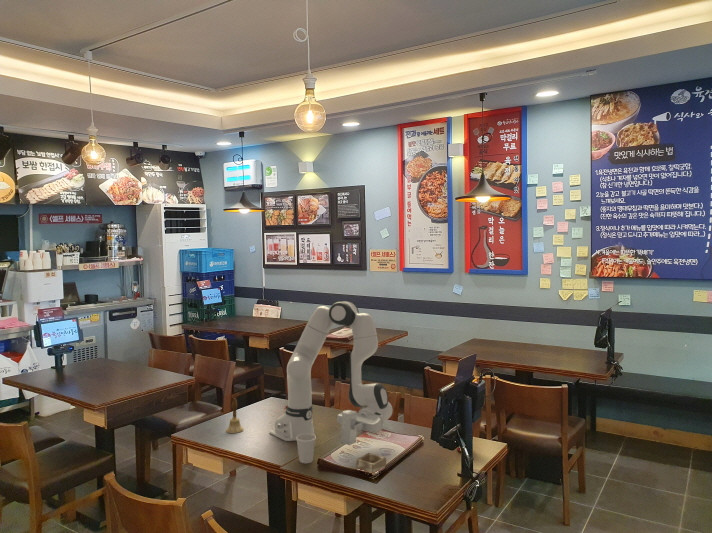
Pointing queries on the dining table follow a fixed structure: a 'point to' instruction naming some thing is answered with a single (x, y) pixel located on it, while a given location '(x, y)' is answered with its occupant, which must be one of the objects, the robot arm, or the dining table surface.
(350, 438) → the peg
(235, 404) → the hand bell
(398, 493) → the dining table surface
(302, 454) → the dixie cup
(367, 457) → the box
